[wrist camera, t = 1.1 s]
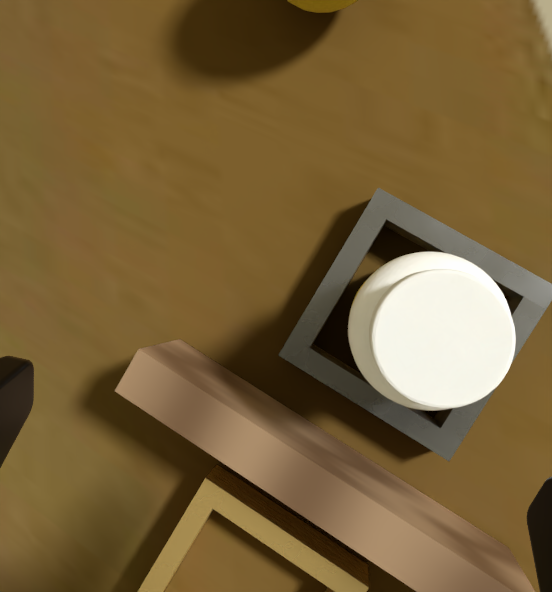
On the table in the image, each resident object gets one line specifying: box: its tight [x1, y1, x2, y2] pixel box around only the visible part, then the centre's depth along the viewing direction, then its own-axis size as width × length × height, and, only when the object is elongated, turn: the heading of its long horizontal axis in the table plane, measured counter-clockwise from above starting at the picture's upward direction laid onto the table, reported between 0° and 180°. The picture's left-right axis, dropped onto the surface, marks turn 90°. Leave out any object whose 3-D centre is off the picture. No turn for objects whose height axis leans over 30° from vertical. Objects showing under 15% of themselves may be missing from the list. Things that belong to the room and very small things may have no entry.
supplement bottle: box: [348, 252, 516, 411], centre depth 20 cm, size 5×5×10 cm
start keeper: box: [279, 188, 552, 461], centre depth 23 cm, size 8×8×2 cm
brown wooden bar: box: [115, 339, 535, 592], centre depth 22 cm, size 18×2×5 cm, turn 59°
